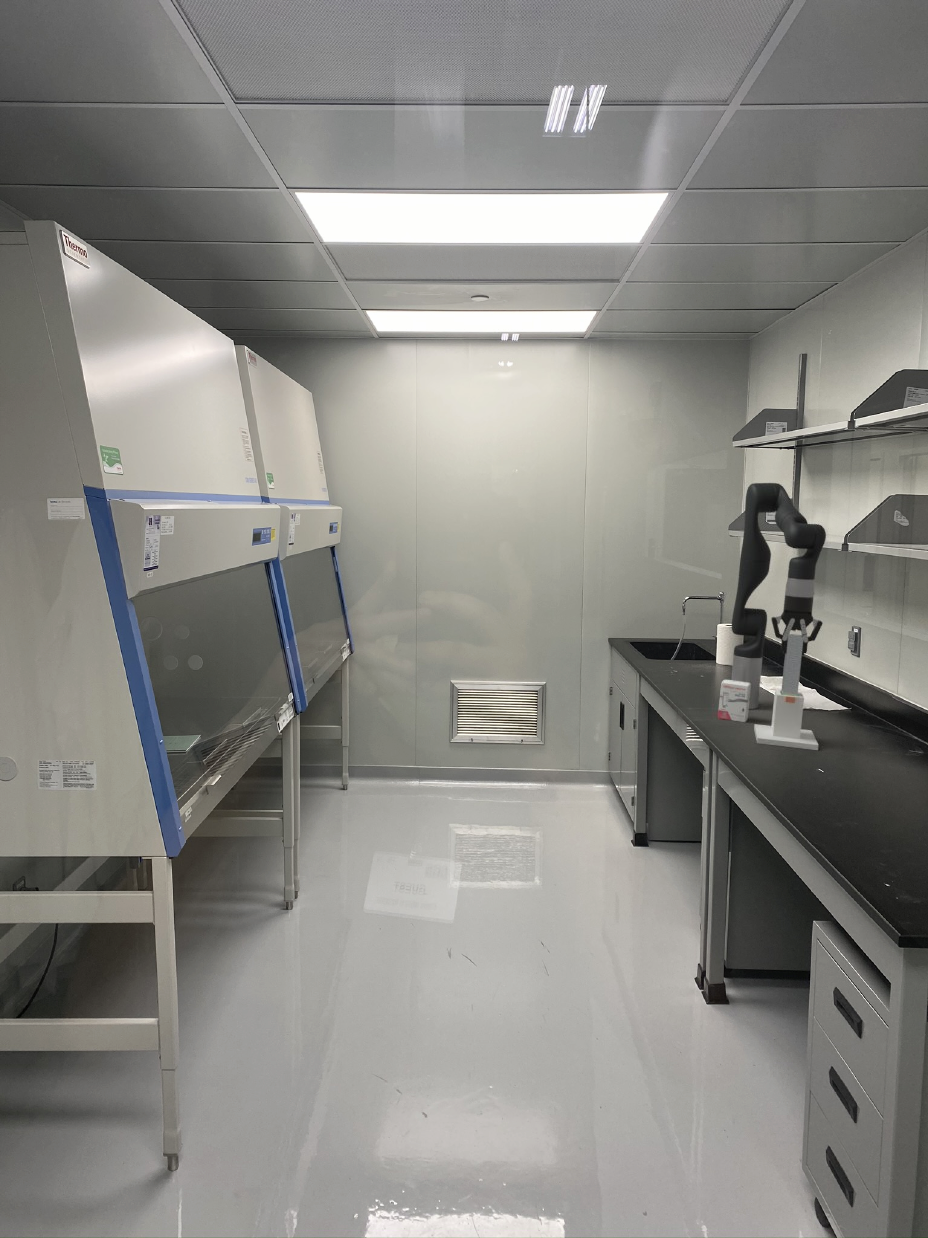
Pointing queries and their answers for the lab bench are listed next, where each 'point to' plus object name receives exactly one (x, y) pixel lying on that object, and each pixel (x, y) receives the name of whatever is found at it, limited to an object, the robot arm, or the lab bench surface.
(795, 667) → the steel post
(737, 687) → the ink box
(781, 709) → the stand housing
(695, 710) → the lab bench surface
